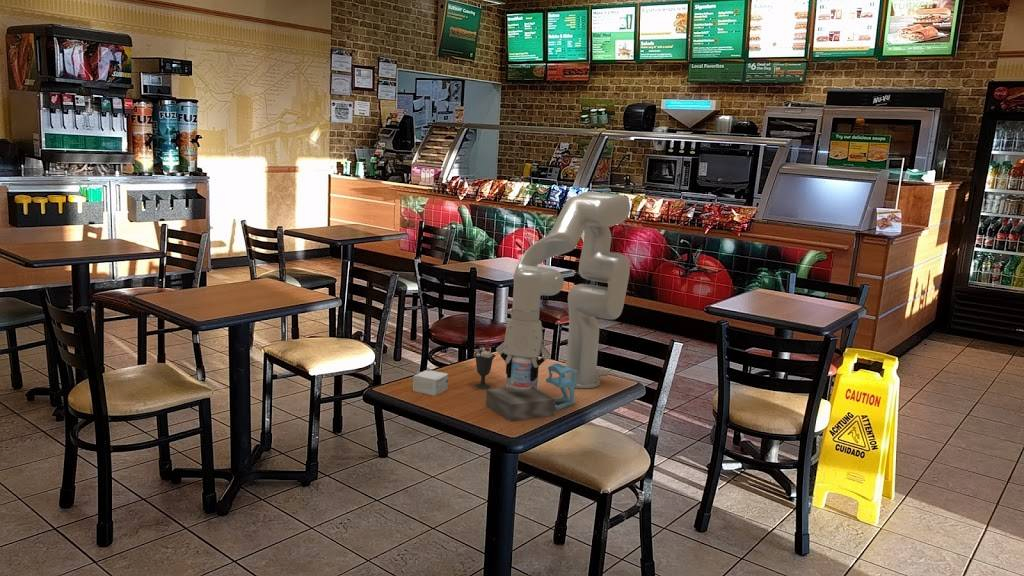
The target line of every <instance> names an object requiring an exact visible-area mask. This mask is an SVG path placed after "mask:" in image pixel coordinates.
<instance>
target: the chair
mask: <svg viewBox="0 0 1024 576" xmlns="http://www.w3.org/2000/svg"><path fill="white" fill-rule="evenodd" d="M547 369H548V374H549V376H548V377H547V378H546V379H545V382H546V383H547V384H552V385H554V386H555V387H557V388H559V389H560V391H561V393H562V395H563V397H553V398H554V399H555V403H556V402H558V403H559V402H561V404H559V405H557V404H555V409H554V410H556V411H557V410H560V409H564V408H566V407H569V406H571V405H574V404H575V386H576V385H577V382H576V381H575V380H574V377H575V374H576V372H577V370H573V369H571V368H568V367H566V365H562V364H561V363H557V362H555V363H553V364H551V365H549V366H548V367H547ZM552 372H554V373H556V374H557V375H558V377H553V373H552ZM567 372H572V373H573V375H572V380H570V379H568V378H566V377H565V375H566V373H567ZM566 388H567V389H568V391H569V395H568V392H567V391H566V390H567V389H566ZM562 402H563V403H562Z"/></svg>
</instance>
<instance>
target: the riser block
mask: <svg viewBox="0 0 1024 576" xmlns="http://www.w3.org/2000/svg"><path fill="white" fill-rule="evenodd" d="M485 397H486V399H485V406H486V407H488V408H489V409H490V410H492V411H494V412H495V413H496V414H498V415H500V416H501V417H503V418H504V419H506V420H507V421H509V422H515V421H521V420H522V421H523V420H529V419H537V418H543V417H544V418H546V417H551V416H553V417H554V415H555V410H556V409H555V405H556V402H555V399H554V398H555V397H552V396H550V395H548V394H546V393H544V392H542V391H541V390H539V389H538V388H537V389H535V388H534V387H531V388H530V389H527V390H518V389H514V388H512V387H508V388H507V387H498V388H491V389H490V388H488V389H486V396H485Z"/></svg>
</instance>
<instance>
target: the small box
mask: <svg viewBox="0 0 1024 576" xmlns="http://www.w3.org/2000/svg"><path fill="white" fill-rule="evenodd" d="M412 379H413V380H412V392H414V391H415V393H419V394H425V395H430V396H432V397H433V396H434V397H435V396H437V395H439V394H441V393H443V392H444V391H447V390H448V386H449V373H445V372H440V371H436V370H430V369H426V370H423V371H420V372H418V373H416V374H415V375H413V377H412Z"/></svg>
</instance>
